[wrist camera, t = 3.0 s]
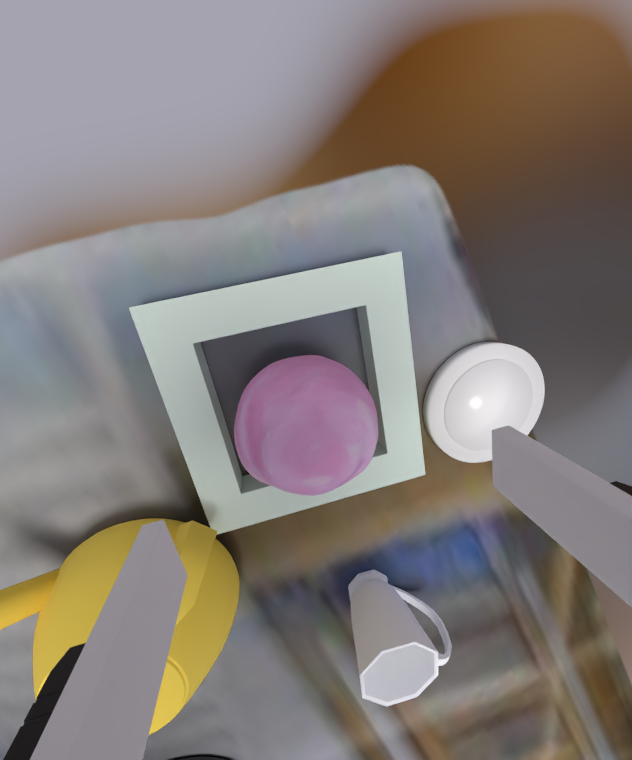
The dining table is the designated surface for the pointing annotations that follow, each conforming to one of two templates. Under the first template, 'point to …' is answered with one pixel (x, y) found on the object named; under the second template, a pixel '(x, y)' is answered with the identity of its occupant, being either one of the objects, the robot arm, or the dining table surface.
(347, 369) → the cupcake
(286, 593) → the dining table surface
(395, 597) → the cup
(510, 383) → the plate
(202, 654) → the teapot
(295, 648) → the dining table surface
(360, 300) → the frame
